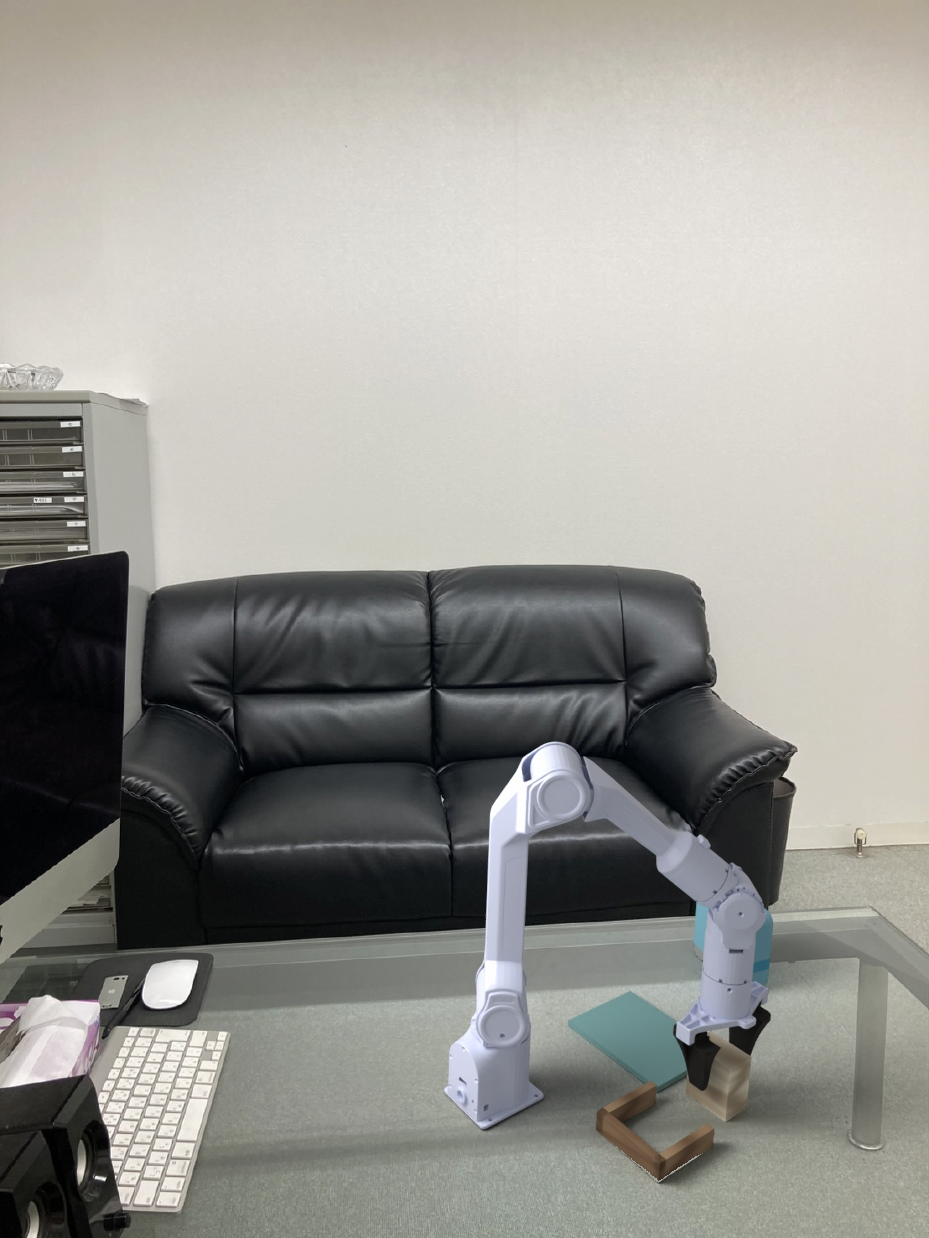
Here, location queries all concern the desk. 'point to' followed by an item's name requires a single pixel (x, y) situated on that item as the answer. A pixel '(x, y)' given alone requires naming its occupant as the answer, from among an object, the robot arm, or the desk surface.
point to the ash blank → (725, 1081)
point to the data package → (761, 944)
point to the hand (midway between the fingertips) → (718, 1073)
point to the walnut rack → (640, 1151)
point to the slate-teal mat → (635, 1038)
